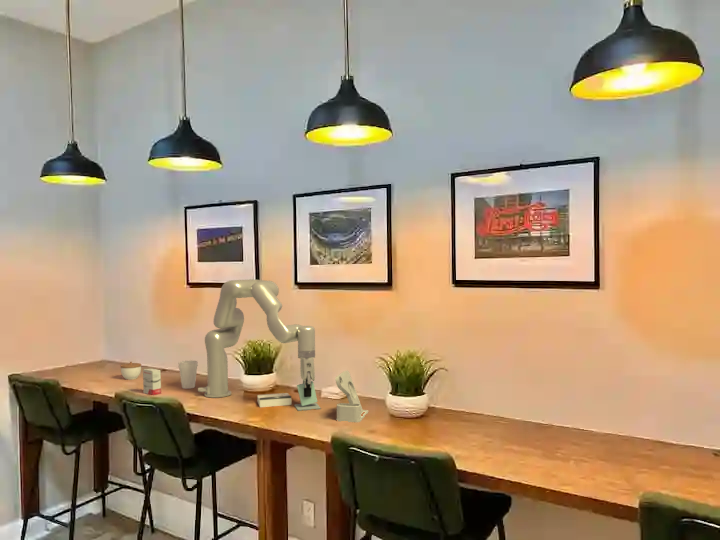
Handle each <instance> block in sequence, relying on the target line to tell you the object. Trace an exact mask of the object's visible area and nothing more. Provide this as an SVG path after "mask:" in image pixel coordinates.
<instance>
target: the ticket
mask: <svg viewBox="0 0 720 540" xmlns="http://www.w3.org/2000/svg"><path fill="white" fill-rule="evenodd" d="M306 383H307V382H306ZM296 387H297V392H298V397H299V402H300V404H301V405H302V406H304V405H308V404H311V403H318V398H317V393H316V389H315V383H314V381H313V380H311V397H304V388H305V385H304V383H303V382H302V383H299V384H296Z"/></svg>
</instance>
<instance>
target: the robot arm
mask: <svg viewBox="0 0 720 540" xmlns="http://www.w3.org/2000/svg"><path fill="white" fill-rule="evenodd" d="M279 291H280V290H279V287H278V285H277V283H276V282H274V281H272V280H263V279H254V278H253V279H251V278H250V279H233V280H228V281H226V282H224V283H223V284H222V286H221V288H220V293H219V299H218V302H217V305H216V309H215V311H214V317H213V325H214V327H215V328H216V329H213V330H210V331H209V332H207V333H206V334H205V337H204V345H205V349H206V361H207V367H206V368H207V370H206V371H207V373H206V374H207V384H206V386H204V387H197V392H199V393H204V396H205V397H206V398H213V399H216V398H225V397H228V396H229V397H230V396H231V395H232V391H231V390H229V378H228V377H229V376H228V371H229V368H228V365H229V364H228V362H229V361H228V355H227V352H226V351H225V349H226V348H231V347H234V346H235V345H236V344H237V343H238V341H239V339H240V336H241V332H242V329H243V325H244V323H245V322H244V321H245V314H244V312H243V311H242V310H241V308H239V307H237V304H238V302H237V299H241V298H244V299H245V298H253V300H255V302H256V304H258V305H259V307H260V308H261V309H262V312H264V314H265V316H266V323H267V328H268V330H269V332H270V333H271V335H272V336H273V337H274V338H275V339H276V340H277V341H278V342H279V343H281V344H288V343H293V342H297V358H298V359H300V361H299V362H300V368H299V369H300V379H301V380H302V384H303V383H304V385H305V388H304V397H311V381H313V382H315V381H316V380H315V379H316V378H315V377H316V375H315V361H314V359H315V358H316V329H315V327H314V326H312V325H301V324H296V323H295V324H287V325H285V323H283V322H282V320H281V318H280V317H279V313H280V311H281V310H282V309H283V308H282V307H283V304H282V302H281V301H280V300H279V299H278V295H279V293H280V292H279ZM306 382H307V383H306Z"/></svg>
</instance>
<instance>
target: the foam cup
mask: <svg viewBox="0 0 720 540" xmlns="http://www.w3.org/2000/svg"><path fill="white" fill-rule="evenodd" d="M198 366H199V365H198V360H193V359H192V360H191V359H190V360H182V361H178V371H179V375H180V376H179V377H180V383H181V388H182V389H193V388H195V387H196V379H197V372H198V371H197V370H198Z"/></svg>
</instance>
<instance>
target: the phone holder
mask: <svg viewBox="0 0 720 540" xmlns="http://www.w3.org/2000/svg"><path fill="white" fill-rule="evenodd" d="M334 379H335V383H336V386H337V388H338V390H339V391H341V392H343V393H342V394H344V395H345V397H346V398H347V402H339V403H337V404H336V419H335V420H338V421H337V422H341V421H348V422H347V423H360V422H362V421H363V419H364V418H365V417H366V416H367V415H366V414H368V413H369V410H368V409H363V407H362V404H361V401H360V399H359V396H358V393H357V390H356V387H355V385H354V382H353V378H352V377H351V373H350V372H349V370H348V369H346V370H344V371H342V372H341V373H339V374H338V375H336V377H335V378H334ZM363 412H365V413H364V414H363V416H361V414H362V413H363ZM365 415H366V416H365Z"/></svg>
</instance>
